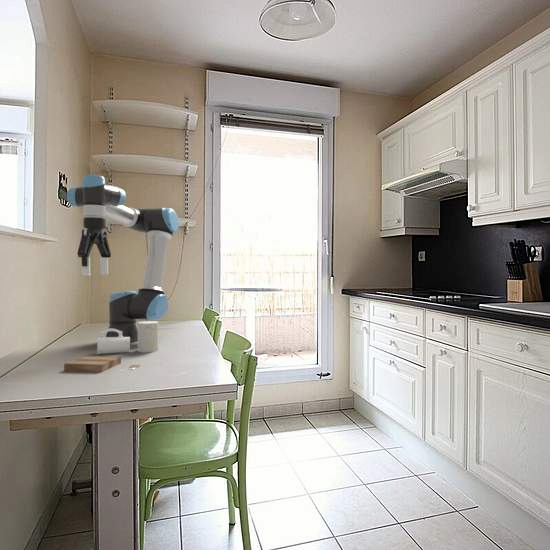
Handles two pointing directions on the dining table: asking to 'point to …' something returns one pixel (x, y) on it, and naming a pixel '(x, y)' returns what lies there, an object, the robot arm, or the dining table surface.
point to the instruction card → (131, 367)
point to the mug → (113, 343)
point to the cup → (148, 336)
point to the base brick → (92, 364)
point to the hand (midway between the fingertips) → (95, 275)
